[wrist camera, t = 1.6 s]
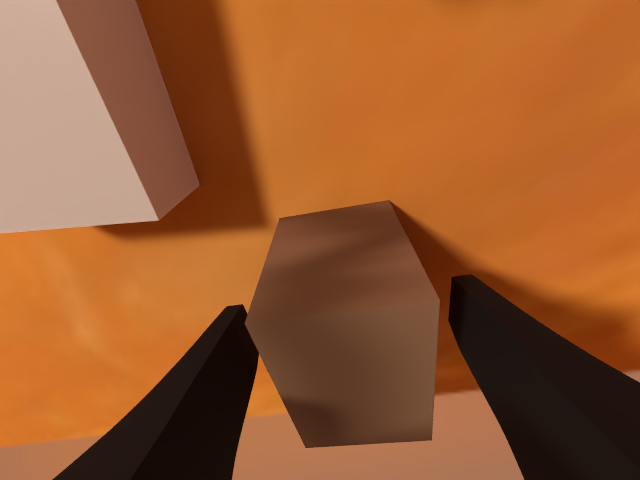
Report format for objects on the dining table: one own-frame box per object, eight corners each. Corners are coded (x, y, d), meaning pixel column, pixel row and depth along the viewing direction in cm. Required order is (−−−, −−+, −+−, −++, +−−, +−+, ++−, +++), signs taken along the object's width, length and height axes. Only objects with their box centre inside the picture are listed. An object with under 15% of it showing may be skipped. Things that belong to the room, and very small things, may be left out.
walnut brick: (388, 199, 9) (439, 300, 5) (395, 316, 12) (432, 440, 8) (279, 217, 10) (244, 323, 6) (312, 325, 13) (305, 447, 9)
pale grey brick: (74, -201, 5) (-158, -457, 3) (203, 181, 10) (158, 220, 7) (-184, -149, 6) (-593, -331, 3) (49, 195, 10) (-48, 237, 7)
